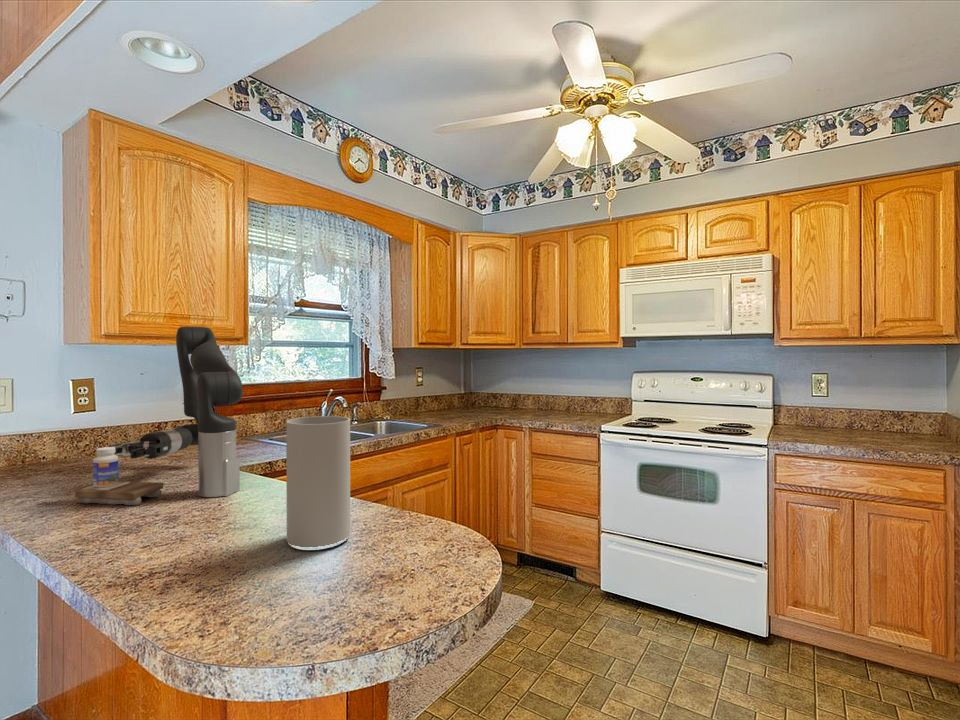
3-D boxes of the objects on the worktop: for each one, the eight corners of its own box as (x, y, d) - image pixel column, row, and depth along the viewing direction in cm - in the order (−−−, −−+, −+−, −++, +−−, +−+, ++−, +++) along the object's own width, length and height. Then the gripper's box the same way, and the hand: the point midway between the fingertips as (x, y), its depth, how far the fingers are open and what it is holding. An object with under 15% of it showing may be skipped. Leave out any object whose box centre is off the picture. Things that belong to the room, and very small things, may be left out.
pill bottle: (97, 489, 128) (96, 451, 128) (90, 485, 131) (89, 448, 131) (122, 484, 132) (121, 447, 132) (114, 481, 136) (114, 445, 135)
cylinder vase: (286, 533, 108) (286, 417, 107) (346, 526, 112) (346, 415, 112) (286, 556, 96) (286, 425, 96) (353, 547, 100) (353, 422, 100)
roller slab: (163, 495, 135) (162, 481, 135) (133, 507, 126) (133, 492, 125) (108, 493, 137) (108, 480, 137) (75, 504, 127) (75, 490, 127)
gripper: (138, 430, 152) (92, 440, 136) (183, 431, 150) (141, 441, 134) (139, 455, 152) (92, 467, 136) (183, 456, 150) (141, 469, 134)
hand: (117, 454), depth 135 cm, fingers open, 8 cm apart
